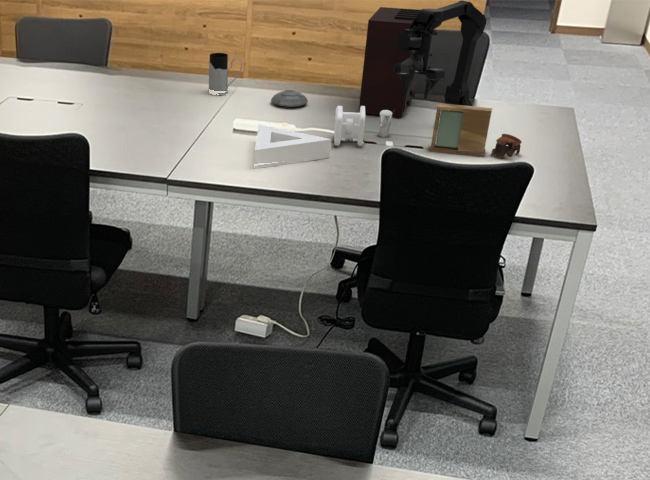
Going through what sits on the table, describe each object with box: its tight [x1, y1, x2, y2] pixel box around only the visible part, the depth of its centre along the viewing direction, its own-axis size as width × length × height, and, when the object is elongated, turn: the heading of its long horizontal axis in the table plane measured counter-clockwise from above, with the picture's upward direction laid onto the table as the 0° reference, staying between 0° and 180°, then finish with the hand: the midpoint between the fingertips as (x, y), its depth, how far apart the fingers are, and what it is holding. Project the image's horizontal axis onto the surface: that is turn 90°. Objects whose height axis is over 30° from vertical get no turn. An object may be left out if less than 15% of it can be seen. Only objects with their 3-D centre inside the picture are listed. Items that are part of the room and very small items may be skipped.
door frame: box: [429, 102, 493, 158], centre depth 344 cm, size 5×19×16 cm, turn 71°
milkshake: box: [378, 110, 394, 138], centre depth 360 cm, size 4×5×10 cm
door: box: [436, 110, 464, 148], centre depth 346 cm, size 7×9×12 cm
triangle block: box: [253, 124, 332, 170], centre depth 346 cm, size 30×26×6 cm
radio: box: [357, 6, 421, 119], centre depth 382 cm, size 19×27×35 cm
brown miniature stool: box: [490, 133, 522, 160], centre depth 343 cm, size 12×10×8 cm
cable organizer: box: [333, 105, 366, 148], centre depth 353 cm, size 15×11×12 cm
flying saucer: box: [270, 89, 309, 108], centre depth 395 cm, size 15×15×6 cm
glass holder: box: [208, 52, 243, 96], centre depth 406 cm, size 9×14×15 cm, turn 96°
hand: (415, 96), depth 350 cm, fingers open, 9 cm apart
